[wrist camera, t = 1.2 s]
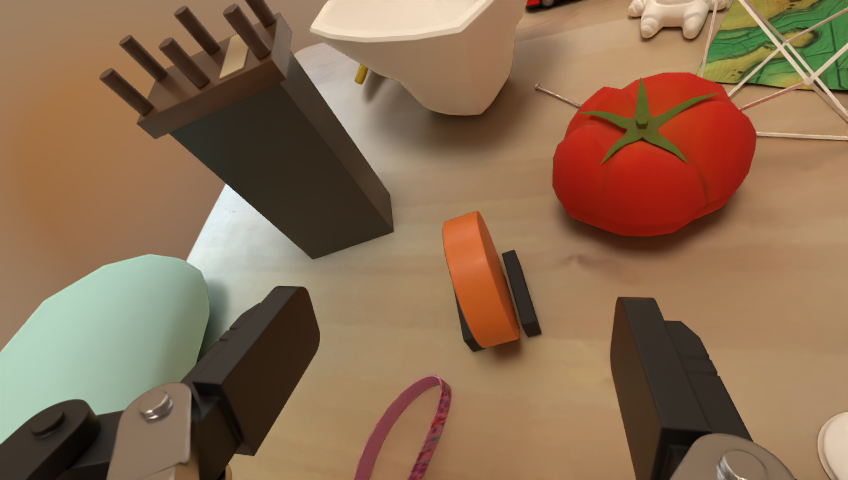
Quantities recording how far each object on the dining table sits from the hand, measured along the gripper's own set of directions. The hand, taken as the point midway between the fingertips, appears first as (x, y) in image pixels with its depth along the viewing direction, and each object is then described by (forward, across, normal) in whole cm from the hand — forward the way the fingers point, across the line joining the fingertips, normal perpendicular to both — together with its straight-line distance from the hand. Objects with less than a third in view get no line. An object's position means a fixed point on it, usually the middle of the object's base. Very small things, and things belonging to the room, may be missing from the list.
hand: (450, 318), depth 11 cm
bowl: (+41, +4, +1) cm, 41 cm away
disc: (+18, 0, +14) cm, 23 cm away
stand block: (+28, +16, +11) cm, 34 cm away
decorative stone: (+16, +34, +23) cm, 44 cm away
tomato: (+26, -11, +7) cm, 29 cm away
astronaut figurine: (+45, -17, -5) cm, 49 cm away
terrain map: (+36, -24, -2) cm, 44 cm away
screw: (+37, -6, +2) cm, 37 cm away
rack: (+19, +18, -4) cm, 27 cm away
